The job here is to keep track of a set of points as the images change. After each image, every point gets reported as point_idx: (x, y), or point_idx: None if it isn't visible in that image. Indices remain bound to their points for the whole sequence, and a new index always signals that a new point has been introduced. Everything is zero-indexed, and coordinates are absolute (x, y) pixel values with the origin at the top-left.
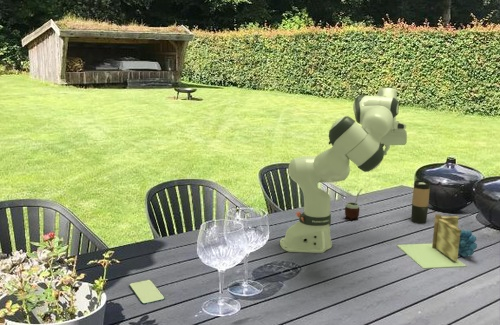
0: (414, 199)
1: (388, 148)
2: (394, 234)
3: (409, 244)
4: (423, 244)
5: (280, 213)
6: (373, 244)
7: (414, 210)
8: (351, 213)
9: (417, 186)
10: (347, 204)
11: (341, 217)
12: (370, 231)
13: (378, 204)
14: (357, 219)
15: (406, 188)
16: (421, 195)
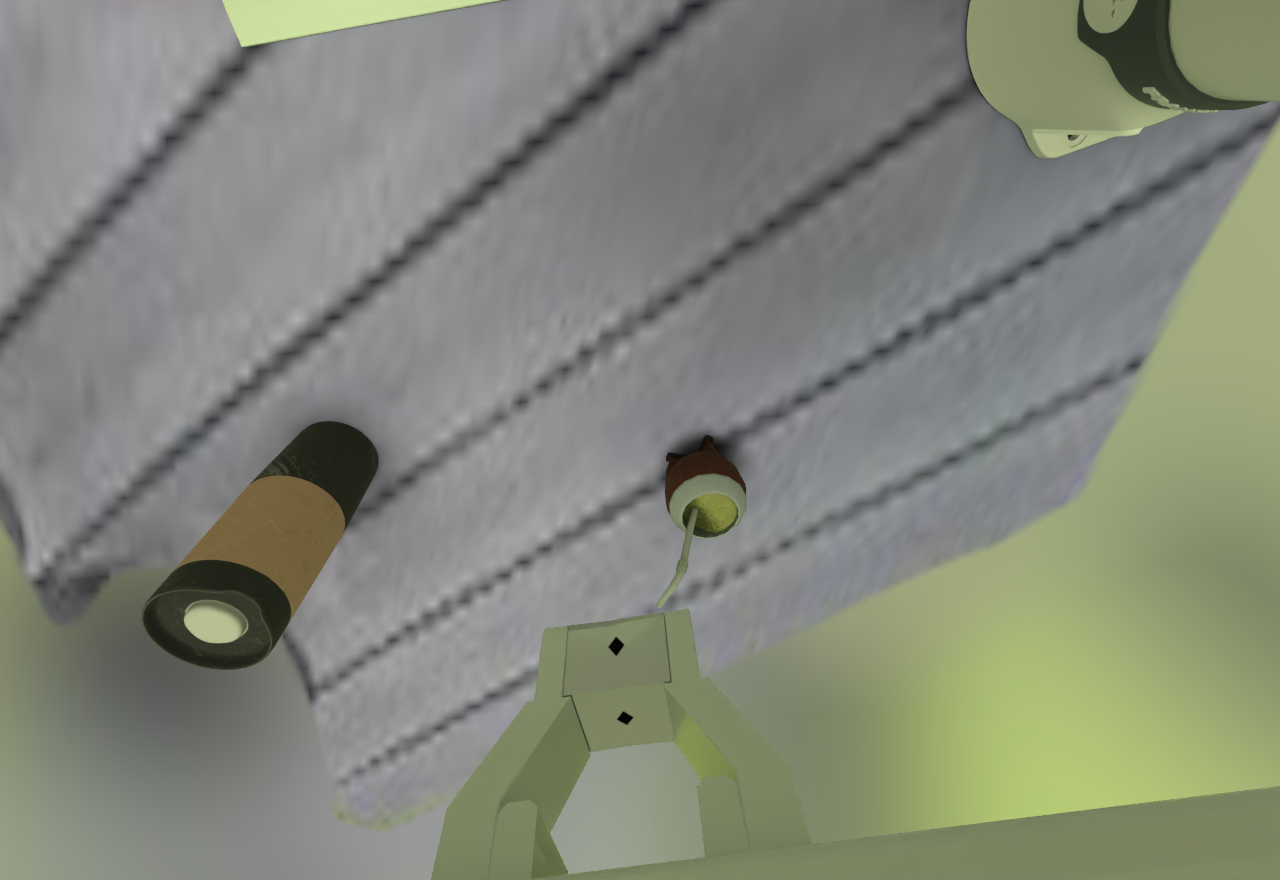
0: (317, 525)
1: (484, 782)
2: (505, 234)
3: (432, 10)
4: (331, 13)
5: (1028, 515)
6: (681, 23)
7: (341, 476)
8: (717, 456)
9: (256, 586)
10: (741, 509)
11: None
12: (641, 280)
13: (516, 651)
14: (670, 454)
15: (365, 813)
16: (252, 527)
